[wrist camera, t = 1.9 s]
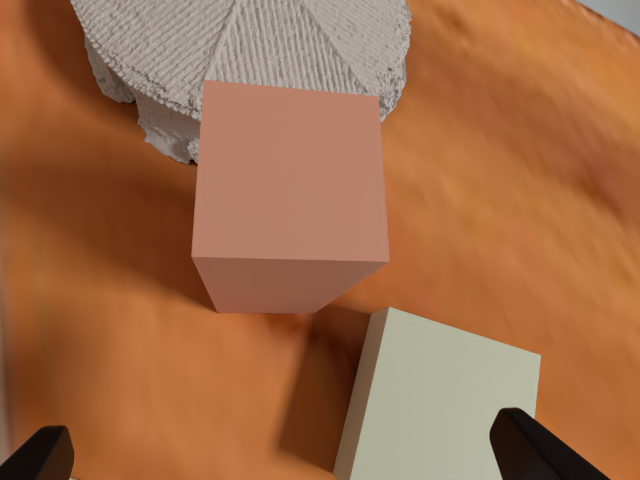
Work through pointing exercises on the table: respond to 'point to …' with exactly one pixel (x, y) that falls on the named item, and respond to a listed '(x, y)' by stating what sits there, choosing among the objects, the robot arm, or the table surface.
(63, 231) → the table surface
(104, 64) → the grey round stone disc
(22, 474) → the robot arm
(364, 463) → the base brick
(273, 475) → the table surface
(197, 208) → the tall brick
